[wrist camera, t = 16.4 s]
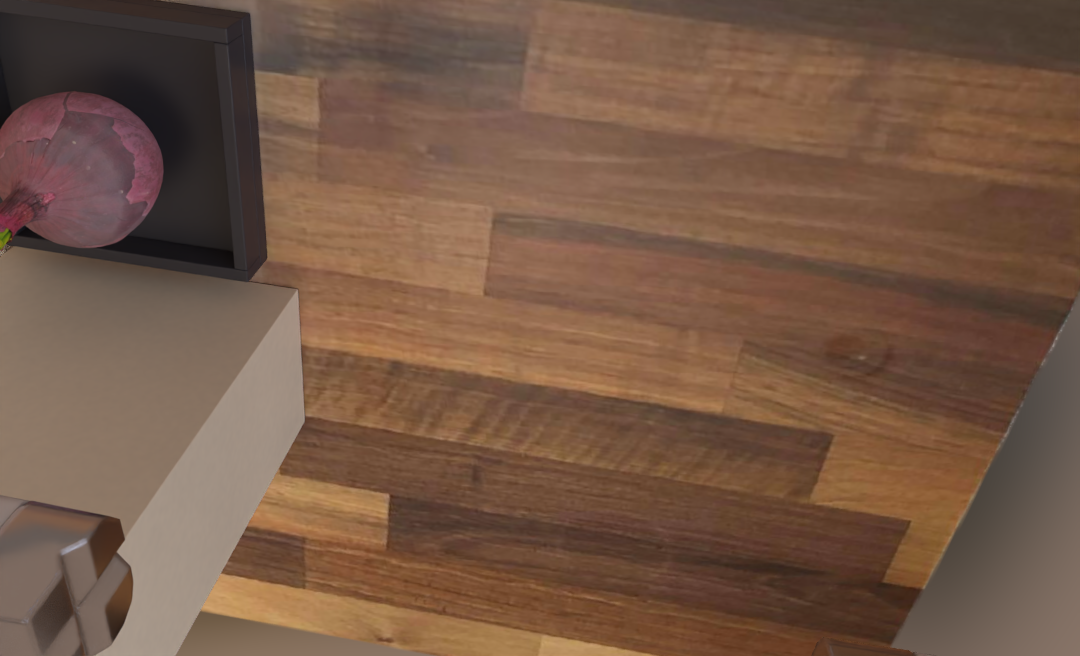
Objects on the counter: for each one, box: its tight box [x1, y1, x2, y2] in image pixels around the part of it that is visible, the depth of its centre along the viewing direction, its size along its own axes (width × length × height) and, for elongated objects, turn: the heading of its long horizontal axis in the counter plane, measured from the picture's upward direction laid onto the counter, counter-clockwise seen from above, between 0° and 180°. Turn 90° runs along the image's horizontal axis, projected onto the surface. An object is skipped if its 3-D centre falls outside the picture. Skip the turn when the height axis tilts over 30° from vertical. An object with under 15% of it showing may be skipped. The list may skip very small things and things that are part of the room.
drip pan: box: [0, 0, 267, 282], centre depth 40 cm, size 11×11×2 cm
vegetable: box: [0, 91, 164, 251], centre depth 36 cm, size 6×6×10 cm
